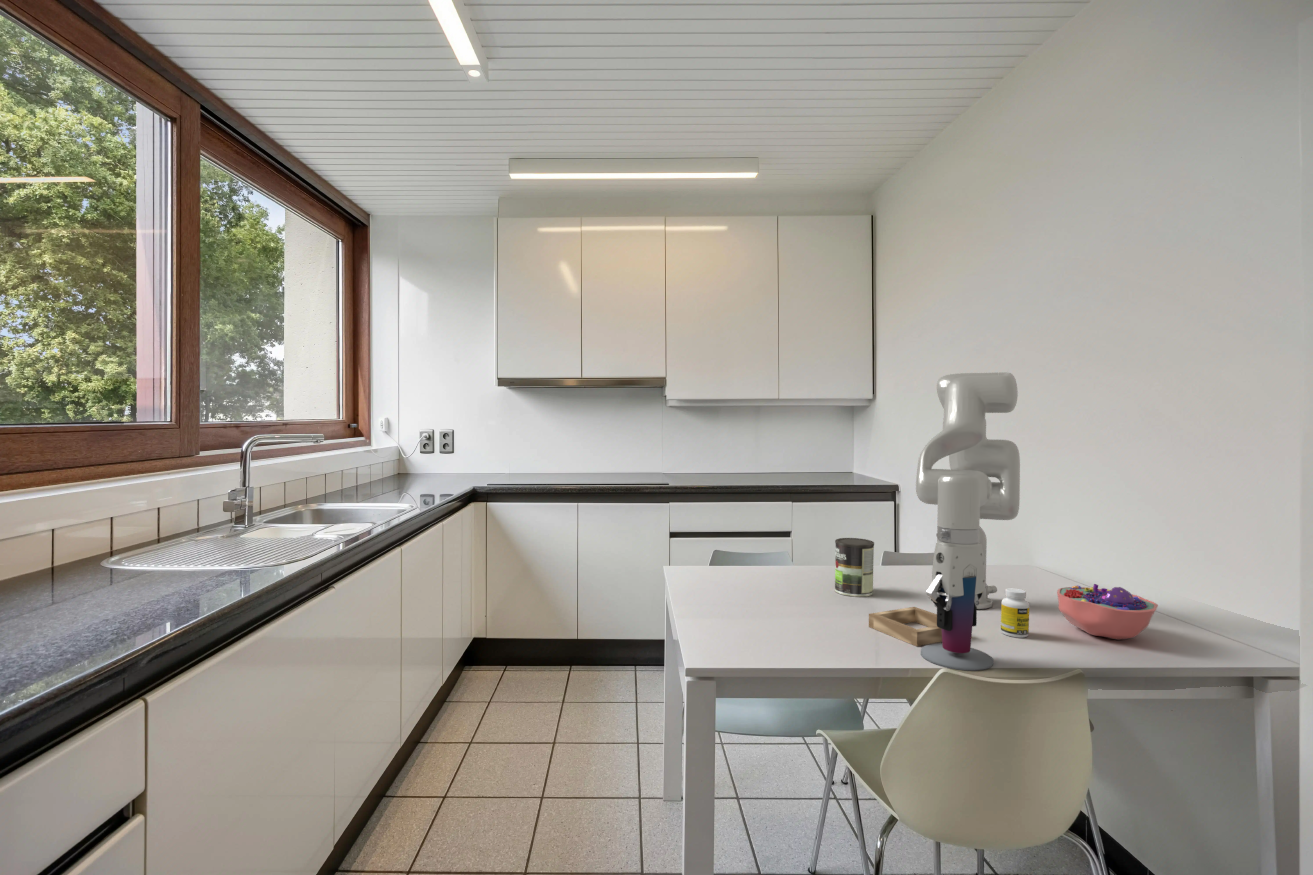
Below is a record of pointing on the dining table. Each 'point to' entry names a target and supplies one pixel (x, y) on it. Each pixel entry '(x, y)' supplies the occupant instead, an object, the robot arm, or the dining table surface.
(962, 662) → the disc
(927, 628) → the socket
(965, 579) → the cup
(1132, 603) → the cell model
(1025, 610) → the supplement bottle
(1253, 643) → the dining table surface
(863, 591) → the coffee can
